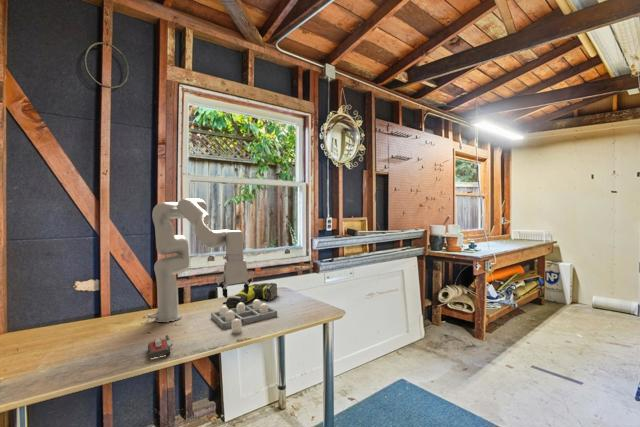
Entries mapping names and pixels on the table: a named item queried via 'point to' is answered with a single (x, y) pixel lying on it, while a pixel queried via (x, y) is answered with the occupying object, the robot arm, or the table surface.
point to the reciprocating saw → (253, 294)
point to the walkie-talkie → (160, 347)
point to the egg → (236, 326)
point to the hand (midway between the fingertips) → (236, 295)
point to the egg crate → (243, 313)
